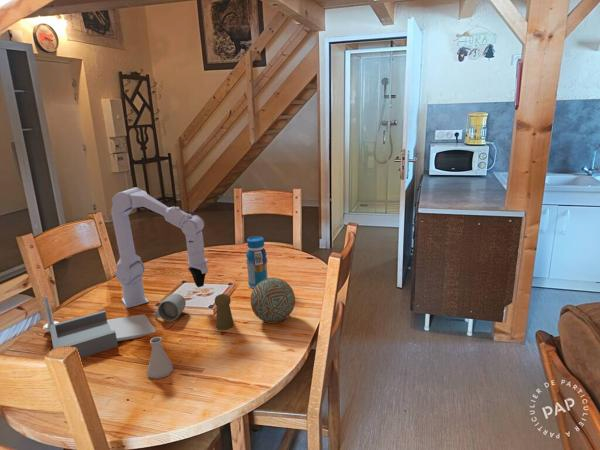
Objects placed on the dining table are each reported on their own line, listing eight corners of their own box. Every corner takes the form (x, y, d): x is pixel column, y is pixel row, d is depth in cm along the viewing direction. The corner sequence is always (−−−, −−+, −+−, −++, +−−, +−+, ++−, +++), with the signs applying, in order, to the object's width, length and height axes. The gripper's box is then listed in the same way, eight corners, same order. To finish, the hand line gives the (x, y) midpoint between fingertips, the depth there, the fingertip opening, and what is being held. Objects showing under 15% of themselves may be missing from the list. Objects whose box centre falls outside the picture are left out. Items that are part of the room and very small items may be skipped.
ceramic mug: (188, 310, 148) (185, 291, 146) (180, 321, 140) (177, 301, 138) (160, 310, 149) (156, 291, 147) (150, 321, 141) (147, 301, 139)
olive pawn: (230, 331, 133) (227, 300, 130) (212, 329, 134) (209, 299, 131) (236, 321, 139) (234, 292, 136) (220, 320, 140) (217, 291, 137)
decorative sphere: (267, 306, 149) (264, 268, 145) (303, 314, 142) (302, 274, 138) (243, 325, 136) (239, 284, 132) (282, 335, 129) (279, 292, 125)
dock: (53, 341, 132) (49, 325, 131) (143, 315, 148) (141, 300, 146) (58, 368, 118) (53, 350, 116) (158, 336, 133) (155, 319, 132)
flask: (150, 364, 117) (145, 333, 114) (176, 362, 117) (172, 331, 115) (143, 380, 110) (138, 348, 107) (170, 378, 110) (166, 346, 108)
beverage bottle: (244, 287, 165) (240, 240, 160) (254, 279, 173) (251, 234, 167) (263, 290, 162) (259, 242, 157) (272, 282, 170) (269, 236, 164)
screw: (61, 331, 136) (44, 336, 134) (60, 325, 140) (44, 330, 138) (53, 296, 133) (36, 300, 130) (52, 291, 137) (36, 295, 134)
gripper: (214, 253, 141) (218, 289, 144) (199, 243, 152) (202, 276, 156) (194, 258, 137) (199, 294, 141) (180, 247, 149) (184, 281, 152)
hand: (199, 285), depth 148 cm, fingers closed
